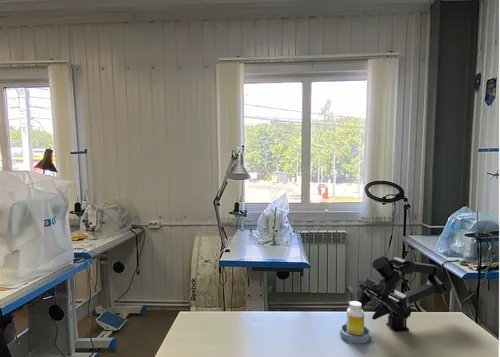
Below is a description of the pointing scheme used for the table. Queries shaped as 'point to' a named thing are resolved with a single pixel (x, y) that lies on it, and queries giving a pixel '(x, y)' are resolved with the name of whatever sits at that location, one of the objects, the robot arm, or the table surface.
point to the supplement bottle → (355, 319)
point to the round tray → (353, 338)
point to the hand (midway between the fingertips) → (365, 313)
